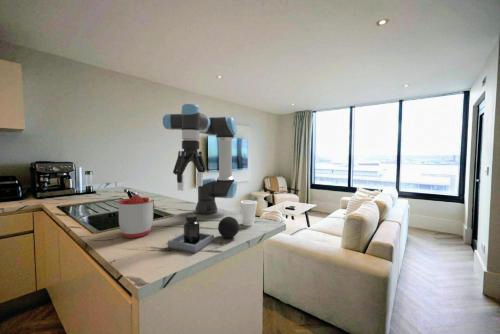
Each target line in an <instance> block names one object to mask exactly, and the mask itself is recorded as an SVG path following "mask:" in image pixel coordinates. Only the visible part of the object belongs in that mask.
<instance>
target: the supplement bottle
mask: <svg viewBox="0 0 500 334" xmlns="http://www.w3.org/2000/svg"><path fill="white" fill-rule="evenodd" d="M200 225H201V224H200V221H198V214H188V215H186V216H185V222H184V223H183V233H184V243H188V244H193V245H195V244H197V243H199V241H200V233H201V231H200V228H201V226H200Z"/></svg>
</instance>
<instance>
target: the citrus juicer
mask: <svg viewBox="0 0 500 334" xmlns="http://www.w3.org/2000/svg"><path fill="white" fill-rule="evenodd" d="M117 203H118V225H119V229H120V232H121V235H122V236H123V237H124V238H128V239H134V238H140V237H144V236H147V235H149V234H150V232H151V230H152V225H153V220H154V209H157V207H158V206H156V205H154V203H155V201H154V199H150V198H149V197H144V196H143V197H141V196H140V195H139V194H137V193H136V194H134V195H133V196H132V197H128V198H124V199H120V200H118V201H117Z"/></svg>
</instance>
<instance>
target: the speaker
mask: <svg viewBox="0 0 500 334" xmlns="http://www.w3.org/2000/svg"><path fill="white" fill-rule="evenodd" d="M217 230H218V232H219V234H220V236H221V237H222V238H225V239H231V238H234V237H235V236H236V235H237V234H238V233H239V231H240V226H239V221H238V220H237V219H236V218H234V217H232V216H225V217H223V218H222V219H220V221H219V223H218V226H217Z"/></svg>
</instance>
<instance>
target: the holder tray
mask: <svg viewBox="0 0 500 334" xmlns="http://www.w3.org/2000/svg"><path fill="white" fill-rule="evenodd" d="M214 235H215V234H211V233H205V232H200V241H199V243H197V244H195V245H193V244H188V243H184V232H183V233H181V234H179V235H177V236H175V237H173V238H171V239H169V240H168V241H167V248H168V249H172V250H176V251H181V252H186V253H191V254H194V255H195V254H197V253H199V252H201V251H202V250H203V249H204V248H206V247H208V246H210V245H211V244H212V243H213V242H214V241H215V236H214Z"/></svg>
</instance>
